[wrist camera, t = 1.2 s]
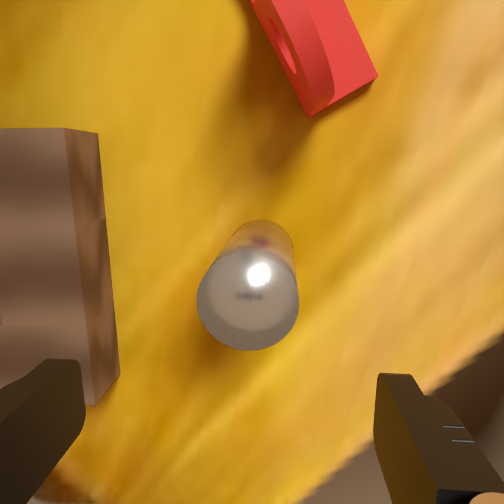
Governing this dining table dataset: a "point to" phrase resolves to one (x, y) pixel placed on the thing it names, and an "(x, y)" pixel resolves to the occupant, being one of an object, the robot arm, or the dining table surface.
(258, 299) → the peg
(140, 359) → the dining table surface
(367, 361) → the dining table surface
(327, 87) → the bracket
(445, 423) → the robot arm
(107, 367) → the socket block
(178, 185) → the dining table surface
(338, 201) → the dining table surface
